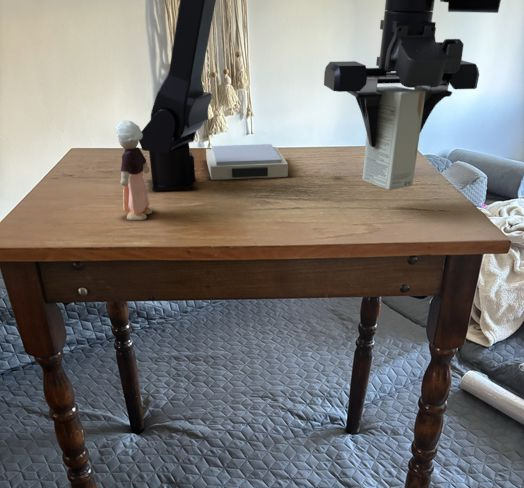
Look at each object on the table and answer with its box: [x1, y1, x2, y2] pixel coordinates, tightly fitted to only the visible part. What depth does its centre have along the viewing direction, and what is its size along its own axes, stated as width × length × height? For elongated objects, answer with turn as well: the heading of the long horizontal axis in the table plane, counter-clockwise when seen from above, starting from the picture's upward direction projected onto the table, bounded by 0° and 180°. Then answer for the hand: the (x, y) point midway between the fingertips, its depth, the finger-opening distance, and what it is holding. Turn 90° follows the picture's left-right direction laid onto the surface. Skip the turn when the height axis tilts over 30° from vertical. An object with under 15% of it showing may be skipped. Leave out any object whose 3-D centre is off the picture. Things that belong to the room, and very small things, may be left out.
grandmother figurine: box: [115, 119, 153, 221], centre depth 75 cm, size 8×4×13 cm, turn 178°
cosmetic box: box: [362, 85, 426, 191], centre depth 75 cm, size 6×4×12 cm
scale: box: [205, 143, 289, 181], centre depth 98 cm, size 13×12×3 cm
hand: (391, 145), depth 76 cm, fingers closed on cosmetic box, 5 cm apart
